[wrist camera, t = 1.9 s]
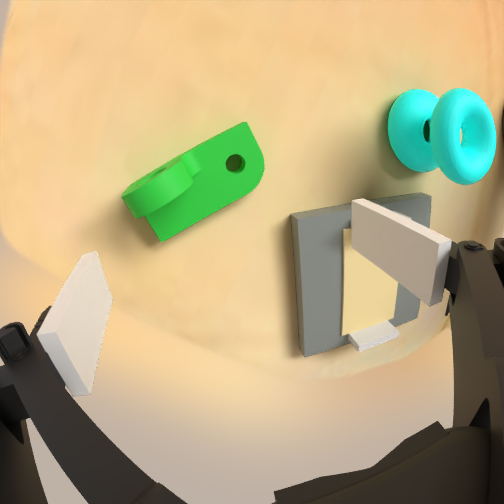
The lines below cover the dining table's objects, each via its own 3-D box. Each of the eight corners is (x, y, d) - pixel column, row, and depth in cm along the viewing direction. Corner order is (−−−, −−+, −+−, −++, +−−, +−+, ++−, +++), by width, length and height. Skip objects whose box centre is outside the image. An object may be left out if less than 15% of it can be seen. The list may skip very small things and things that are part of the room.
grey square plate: (420, 192, 35) (447, 202, 31) (409, 311, 43) (429, 328, 38) (290, 213, 32) (309, 228, 28) (299, 347, 40) (313, 372, 35)
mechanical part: (162, 235, 30) (158, 269, 23) (130, 184, 28) (115, 203, 21) (268, 176, 31) (298, 191, 23) (242, 122, 28) (264, 119, 21)
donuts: (461, 206, 25) (432, 110, 21) (401, 184, 34) (369, 109, 30) (507, 160, 25) (484, 76, 21) (449, 147, 34) (423, 78, 30)
